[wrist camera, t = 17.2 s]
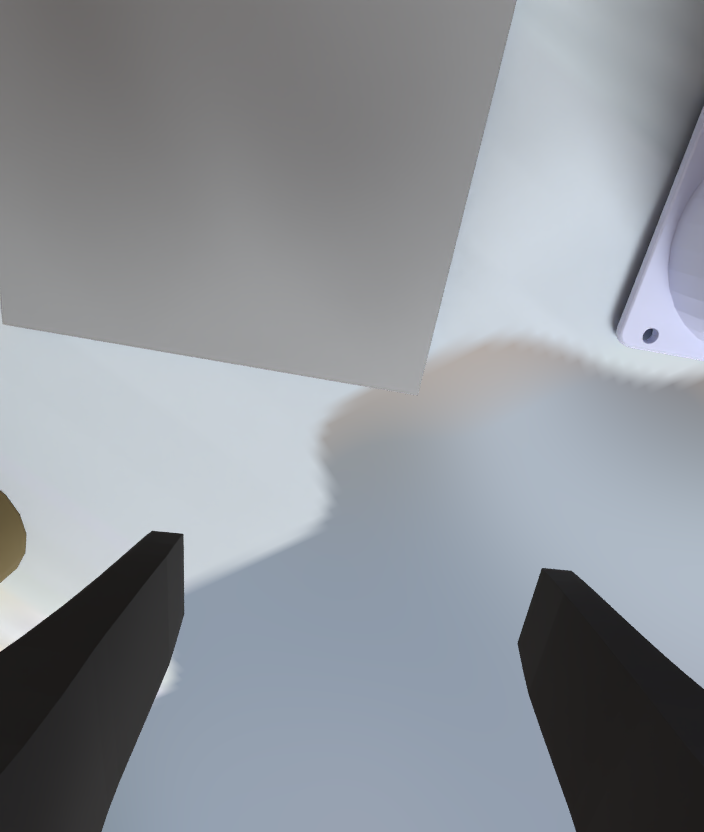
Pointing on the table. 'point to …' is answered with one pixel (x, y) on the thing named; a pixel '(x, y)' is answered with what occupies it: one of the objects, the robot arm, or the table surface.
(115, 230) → the board
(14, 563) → the cork
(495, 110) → the table surface
